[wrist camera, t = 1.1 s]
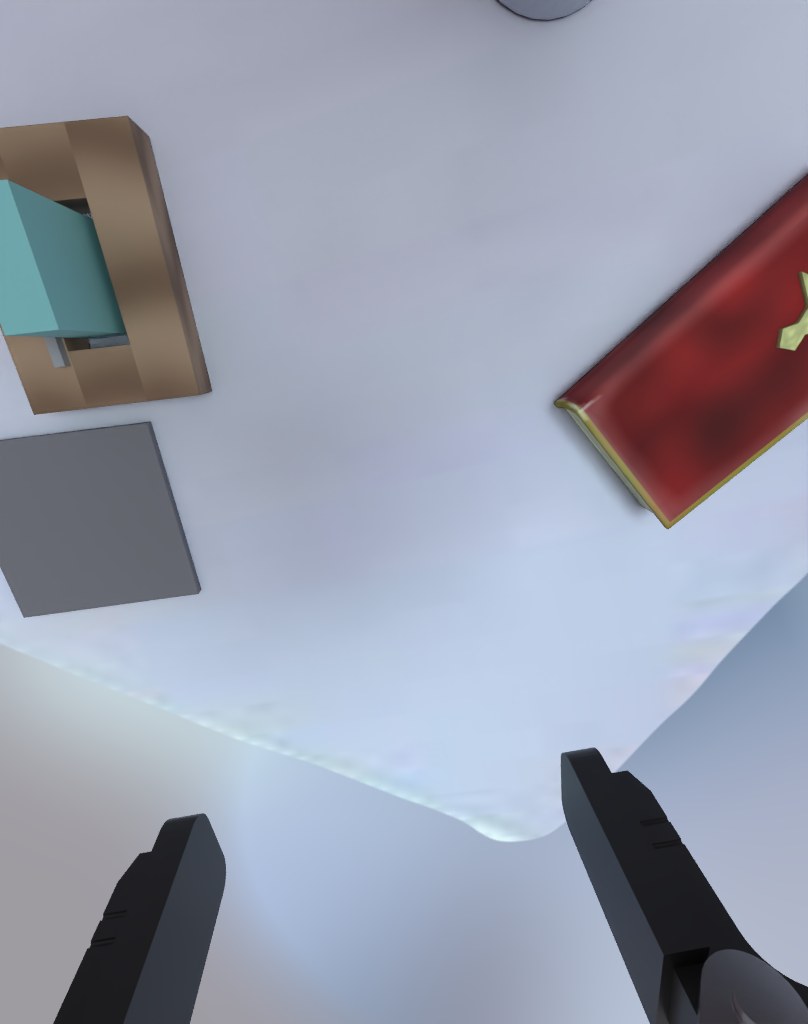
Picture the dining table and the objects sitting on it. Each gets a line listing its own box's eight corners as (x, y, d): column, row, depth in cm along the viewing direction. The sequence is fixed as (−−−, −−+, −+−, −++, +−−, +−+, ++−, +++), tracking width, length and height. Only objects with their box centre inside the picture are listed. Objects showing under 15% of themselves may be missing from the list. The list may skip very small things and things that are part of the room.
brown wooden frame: (-34, 154, 25) (-85, 129, 23) (149, 136, 26) (121, 110, 23) (59, 409, 30) (27, 416, 27) (212, 391, 31) (196, 395, 28)
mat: (-48, 446, 30) (-56, 447, 30) (150, 421, 31) (146, 423, 30) (29, 613, 35) (23, 617, 34) (201, 589, 36) (198, 593, 35)
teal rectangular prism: (62, 229, 27) (-54, 185, 20) (105, 225, 27) (7, 179, 20) (97, 338, 29) (4, 335, 22) (137, 333, 29) (59, 329, 22)
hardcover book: (550, 400, 33) (575, 408, 29) (804, 170, 30) (872, 143, 26) (637, 511, 37) (670, 530, 33) (874, 317, 33) (943, 314, 29)
